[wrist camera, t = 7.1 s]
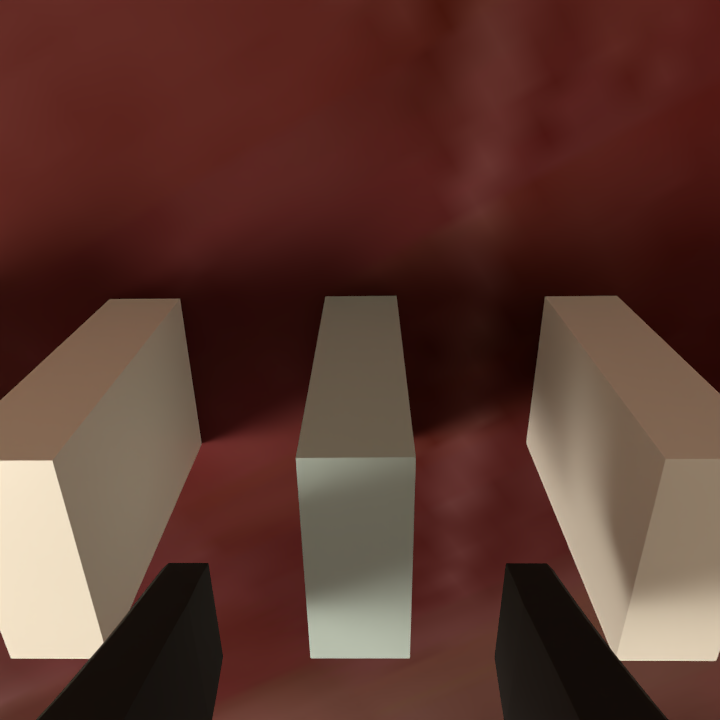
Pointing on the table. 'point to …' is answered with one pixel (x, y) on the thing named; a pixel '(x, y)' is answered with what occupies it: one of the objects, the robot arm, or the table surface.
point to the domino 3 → (631, 475)
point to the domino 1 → (92, 475)
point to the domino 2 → (357, 484)
